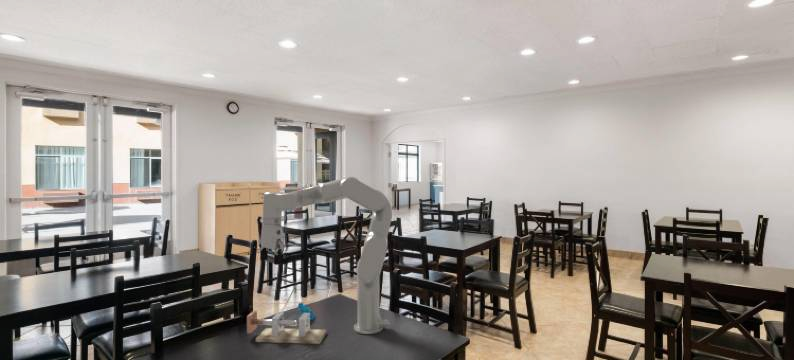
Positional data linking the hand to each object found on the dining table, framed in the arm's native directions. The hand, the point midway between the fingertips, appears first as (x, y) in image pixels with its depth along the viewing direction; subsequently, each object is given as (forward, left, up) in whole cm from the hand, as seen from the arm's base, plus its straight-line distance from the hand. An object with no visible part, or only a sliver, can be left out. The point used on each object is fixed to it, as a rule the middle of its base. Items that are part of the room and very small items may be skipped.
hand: (270, 262), depth 165 cm
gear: (-10, -15, -30) cm, 35 cm away
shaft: (-3, +5, -27) cm, 28 cm away
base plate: (-11, +5, -30) cm, 32 cm away
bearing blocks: (-10, +5, -28) cm, 30 cm away
